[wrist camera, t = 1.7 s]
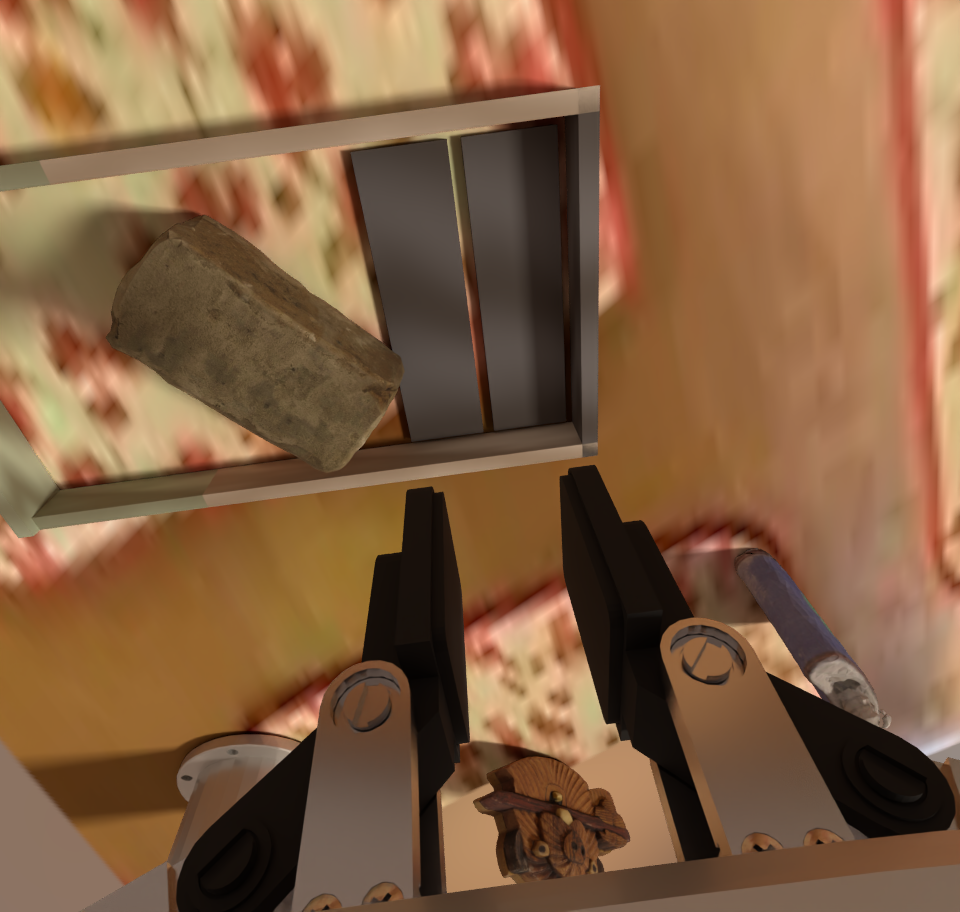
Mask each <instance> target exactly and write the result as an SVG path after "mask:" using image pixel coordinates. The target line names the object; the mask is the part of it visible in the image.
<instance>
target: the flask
mask: <svg viewBox="0 0 960 912" xmlns="http://www.w3.org/2000/svg"><path fill="white" fill-rule="evenodd" d="M748 552H750V553H755V554H745V553H748ZM745 553H744V554H742V556H739V557H736V559H735V568H736V571H737V574H738V575H739V577H740V578H741V579H742V580H743V581H744V583H745V584H746V586H747V587H748V589H749V591H750V592H751V593H752V595H753V596H754V598H755V599H756V601H757V603H758V604H759V606H760V607H761V609H762V610H763V611H764V613H765V614H766V616H767V617H768V619H769V621H770V622H771V623H772V625H773V626H774V628H775V629H776V631H777V633H778V634H779V636H780V637H781V639H782V640H783V642H784V643H785V645H786V647H787V648H788V650H789V651H790V653H791V654H792V656H793V658H794V660H795V661H796V662H797V663H798V665H799V667H800V669H801V671H802V672H803V674H804V676H805V677H806V678H807V679H808V681H809V682H811V683H812V684H813V686H814V687H815V689H816V690H817V692H818V694H819V695H820V697H821V698H822V699H823V700H825V701H827V702H829V703H831V704H833V705H835V706H837V707H839V708H841V709H843V710H845V711H847V712H849V713H851V714H853V715H855V716H858V717H860V718H862V719H864V720H866V721H868V722H870V723H872V724H874V725H876V726H879V723H880V722H879V720H880V715H879V706H878V702H877V697H876V693H875V692H874V689H873V687H872V686H871V684H870V683H869V681H868V679H867V678H866V676H865V674H864V673H863V672H862V670H861V669H860V668H859V667H858V665H857V664H856V663H855V662H854V661H853V659H852V658H851V657H850V656H849V655H848V653H847V652H846V650H845V649H844V647H843V646H842V645H841V643H840V642H839V641H838V640H837V639H836V638H835V636H834V635H833V634H832V632H831V631H830V629H829V628H828V627H827V625H826V624H825V623H824V621H823V620H822V619H821V617H820V616H819V615H818V614H817V612H816V611H815V609H814V608H813V607H812V606H811V604H810V603H809V602H808V600H807V599H806V598H805V596H804V594H803V593H802V592H801V591H800V590H799V588H798V587H797V586H796V584H795V583H794V581H793V580H792V579H791V578H790V576H789V575H788V574H787V572H786V571H785V570H784V569H783V568H782V567H781V566H780V565H779V564H778V562H777V561H776V560H775V559H774V558H772V556H771V555H770V554H768V553H766V552H765V551H763V550H759V549H758V548H756V549H750V550H747V551H746V552H745ZM880 713H882V714H883V715H884V714H885V711H884V710H882V709H881V710H880ZM882 719H883V722H884V724H883V726H882V728H888V727H889V726H890V723H891V717H890V715H888V714H886V715H885V716H884V717H883V718H882Z"/></svg>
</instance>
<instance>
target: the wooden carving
mask: <svg viewBox="0 0 960 912" xmlns="http://www.w3.org/2000/svg"><path fill="white" fill-rule="evenodd" d="M487 779H488V781H489V782H490V784H491V785H492V786H493V788H494V792H491V793H490V794H487V795H485V796H483V797H480V798H478V799H476V800H474V801H473V803H474V805H475V808H477V810H478V811H479V812H480V813H482V814H487V815H491V816H493V817H494V819H495V822H496V826H497V829H498V832H499V836H498V840H497V845H496V855H497V861H498V865H499V869H500V871H501V874H502V876H503V877H504V878H507V877H511V878H512V879H513V880H514V881H515V882H516V883H517V884H519V883H527V882H534V881H542V880H549V879H557V878H564V877H572V876H579V875H587V874H594V873H602V872H604V868H603V865H602V863H601V861H600V860H599V858H598V856H603V855H606V854H608V853H610V852H611V851H612V850H614V849H617V848H621V847H624V846H625V845H626V843H627V842H629V841H630V836H629V832H628V830H627V829H626V826H625V824H624V821H623V819H622V817H621V816H620V815H619V814H617V812H616V809H615V806H614V803H613V799H612V797H611V795H610V793H609V792H608V791H606V790H604V789H601V788H596V789H590V790H588V784H587V783H586V782H585V781H584V780H583V778H582V777H581V776H580V775H579V774H578V773H577V772H575V771H574V770H572V769H571V768H570V767H568V766H567V765H565V764H564V763H561V762H559V761H556V760H554V759H550V758H546V757H538V756H535V757H526V758H523V759H520V760H517V761H515V762H513V763H511V764H509V765H507V766H504V767H501V768H499V769H496V770H494V771H492V772H490V773H488V774H487Z"/></svg>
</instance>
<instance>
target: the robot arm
mask: <svg viewBox="0 0 960 912" xmlns="http://www.w3.org/2000/svg"><path fill="white" fill-rule="evenodd" d="M560 503H561V528H562V552H563V571H564V578H565V582H566V586H567V590H568V593H569V597H570V600H571V604H572V607H573V611H574V615H575V618H576V622H577V625H578V629H579V632H580V636H581V639H582V643H583V647H584V650H585V654H586V657H587V661H588V664H589V668H590V671H591V675H592V679H593V682H594V686H595V689H596V693H597V696H598V700H599V703H600V707H601V710H602V714H603V717H604V720H605V723H606V724H612V723H616V727H617V730H618V733H619V737H620V740H621V741H625V740H631V743H632V747H633V748H635V749H636V750H638V751H639V752H641V753H642V754H644V755H645V756H647V757H648V758H650V765H651V769H652V773H653V776H654V780H655V783H656V787H657V790H658V794H659V797H660V801H661V805H662V808H663V812H664V815H665V819H666V823H667V826H668V829H669V833H670V836H671V840H672V844H673V847H674V851H675V854H676V858H677V863H671V864H662V865H655V866H647V867H640V868H632V869H624V870H617V871H609V872H602V873H594V874H587V875H579V876H572V877H564V878H557V879H549V880H542V881H534V882H527V883H519V884H513V885H504V886H497V887H490V888H483V889H475V890H468V891H461V892H453V893H447V891H446V875H445V856H444V840H443V822H442V804H441V791H440V788H441V787H442V786H443V784H444V783H445V782H446V781H447V780H448V778H449V777H450V776H451V775H452V774H453V772H454V771H455V764H454V763H460V745H459V744H462V743H469V742H470V733H469V715H468V697H467V679H466V661H465V643H464V625H463V607H462V592H461V584H460V578H459V573H458V567H457V562H456V556H455V551H454V546H453V540H452V535H451V529H450V524H449V519H448V513H447V508H446V503H445V497H444V493H443V492H438V493H434V489H433V487H425V488H417V489H410V490H407V493H406V504H405V517H404V530H403V543H402V552H399V553H392V554H384V555H378V556H377V558H376V562H375V568H374V575H373V582H372V590H371V597H370V604H369V611H368V619H367V626H366V633H365V641H364V648H363V655H362V662H361V663H359V664H356V665H354V666H352V667H350V668H349V669H347V670H345V671H344V672H342V673H341V674H340V675H339V676H338V677H337V678H336V679H335V680H334V681H333V682H332V683H331V684H330V686H329V687H328V689H327V691H326V692H325V694H324V696H323V699H322V703H321V706H320V712H319V719H318V726H317V728H316V729H315V730H314V731H313V732H312V733H311V734H310V735H309V736H307V737H306V738H305V739H304V740H303V741H302V742H301V743H299V742H296V741H294V740H291V739H287V738H282V737H278V736H272V735H263V734H241V735H231V736H226V737H221V738H217V739H214V740H211V741H209V742H206V743H203V744H202V745H200V746H198V747H197V748H195V749H193V750H192V751H191V752H190V753H189V754H188V755H187V756H186V757H185V758H184V760H183V762H182V764H181V766H180V769H179V772H178V774H177V786H178V789H179V791H180V793H181V794H182V796H183V797H184V798H185V799H186V800H187V801H188V805H187V808H186V811H185V813H184V816H183V819H182V821H181V824H180V827H179V830H178V832H177V835H176V838H175V841H174V843H173V846H172V849H171V852H170V854H169V857H168V860H167V861H166V862H165V863H163V864H161V865H159V866H158V867H156V868H154V869H153V870H151V871H149V872H147V873H146V874H144V875H142V876H140V877H139V878H137V879H135V880H134V881H132V882H130V883H128V884H127V885H125V886H123V887H121V888H120V889H118V890H116V891H115V892H113V893H111V894H109V895H108V896H106V897H104V898H102V899H101V900H99V901H97V902H96V903H94V904H92V905H90V906H89V907H87V908H85V909H83V910H82V911H80V912H960V760H956V759H953V758H949V757H948V758H947V759H946V761H945V762H944V763H940V762H936V761H932V760H930V759H929V758H928V757H927V756H926V755H925V754H924V753H922V752H921V751H920V750H919V749H918V748H917V747H915V746H913V745H912V744H910V743H908V742H907V741H905V740H903V739H902V738H900V737H898V736H896V735H894V734H892V733H890V732H888V731H886V730H884V729H882V728H880V727H878V726H876V725H874V724H872V723H870V722H868V721H866V720H864V719H862V718H860V717H858V716H855V715H853V714H851V713H849V712H847V711H845V710H843V709H841V708H839V707H837V706H835V705H833V704H831V703H829V702H827V701H825V700H823V699H821V698H819V697H817V696H814V695H812V694H810V693H808V692H806V691H804V690H802V689H800V688H798V687H796V686H794V685H792V684H790V683H788V682H786V681H784V680H782V679H780V678H778V677H776V676H773V675H771V674H769V673H767V672H765V670H764V668H763V666H762V664H761V662H760V660H759V659H758V657H757V655H756V653H755V651H754V649H753V648H752V647H751V645H750V644H749V643H748V641H747V640H746V638H744V637H743V636H742V635H741V634H740V633H738V632H737V631H736V630H735V629H733V628H731V627H729V626H727V625H725V624H723V623H721V622H719V621H715V620H711V619H707V618H694V616H693V614H692V613H691V611H690V609H689V607H688V605H687V603H686V601H685V599H684V597H683V595H682V593H681V591H680V590H679V588H678V586H677V584H676V582H675V580H674V578H673V576H672V574H671V572H670V570H669V568H668V566H667V565H666V563H665V561H664V559H663V557H662V555H661V553H660V551H659V549H658V547H657V545H656V543H655V542H654V540H653V538H652V536H651V534H650V532H649V530H648V528H647V526H646V525H645V523H644V522H643V521H641V520H639V521H631V522H624V523H622V521H621V519H620V517H619V514H618V512H617V510H616V508H615V506H614V504H613V501H612V499H611V497H610V495H609V493H608V491H607V489H606V486H605V484H604V482H603V480H602V478H601V476H600V474H599V471H598V469H597V467H596V466H595V465H590V466H582V467H575V468H569V470H568V475H565V476H560Z"/></svg>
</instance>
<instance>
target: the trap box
mask: <svg viewBox="0 0 960 912" xmlns="http://www.w3.org/2000/svg"><path fill="white" fill-rule="evenodd" d="M560 116H565V143H566V186H567V229H568V272H569V314H570V357H571V400H572V422H565V421H566V395H565V362H564V329H563V295H562V262H561V229H560V195H559V162H558V128H557V124H555V125H548V126H540V127H533V128H525V129H518V130H510V131H503V132H495V133H488V134H480V135H473V136H465V137H461V144H462V153H463V162H464V171H465V179H466V188H467V197H468V206H469V215H470V223H471V232H472V241H473V250H474V259H475V267H476V276H477V285H478V294H479V302H480V311H481V320H482V329H483V338H484V346H485V355H486V364H487V373H488V381H489V390H490V399H491V408H492V417H493V425H494V431H497V430H505V429H512V428H520V427H527V426H535V425H542V424H550V423H557V422H565V423H558V424H550V425H543V426H535V427H528V428H520V429H513V430H506V431H498V432H491V433H483V434H476V435H468V436H461V437H453V438H446V439H438V440H431V441H423V442H416V443H408V444H401V445H393V446H386V447H378V448H371V449H363V450H358V451H357V452H355V453H354V455H353V456H352V458H351V460H350V461H349V462H348V463H347V464H346V465H345V466H344V467H343V468H341V469H340V470H337V471H334V472H328V473H325V472H321V471H319V470H317V469H315V468H313V467H312V466H310V465H309V464H307V463H306V462H304V461H303V460H301V459H299V458H296V459H289V460H281V461H274V462H266V463H259V464H251V465H244V466H236V467H229V468H221V469H214V470H206V471H199V472H191V473H184V474H176V475H169V476H162V477H154V478H147V479H139V480H132V481H124V482H117V483H109V484H102V485H94V486H87V487H79V488H72V489H64V490H59V488H58V487H57V485H56V484H55V482H54V481H53V479H52V478H51V476H50V475H49V473H48V471H47V470H46V468H45V467H44V465H43V464H42V462H41V461H40V459H39V458H38V456H37V455H36V453H35V452H34V450H33V449H32V447H31V446H30V444H29V443H28V441H27V440H26V438H25V437H24V435H23V434H22V432H21V431H20V429H19V428H18V426H17V425H16V423H15V422H14V420H13V419H12V417H11V416H10V414H9V413H8V411H7V410H6V408H5V407H4V405H3V404H2V402H1V401H0V514H1V515H2V517H3V518H4V519H5V521H6V522H7V523H8V525H9V526H10V527H11V529H12V530H13V531H14V533H15V534H16V535H17V537H18V538H22V537H30V536H34V535H35V534H36V533H37V532H38V531H39V530H42V529H49V528H57V527H64V526H72V525H79V524H87V523H94V522H102V521H109V520H117V519H124V518H132V517H139V516H147V515H154V514H162V513H169V512H177V511H184V510H191V509H199V508H206V507H214V506H221V505H229V504H236V503H244V502H251V501H259V500H266V499H274V498H281V497H289V496H296V495H304V494H311V493H319V492H326V491H334V490H341V489H349V488H356V487H364V486H371V485H379V484H386V483H393V482H401V481H408V480H416V479H423V478H431V477H438V476H446V475H453V474H461V473H468V472H476V471H483V470H491V469H498V468H506V467H513V466H521V465H528V464H536V463H543V462H551V461H558V460H566V459H573V458H580V457H588V456H595V455H597V454H598V288H599V123H600V85H599V86H591V87H584V88H577V89H569V90H562V91H554V92H547V93H539V94H532V95H524V96H517V97H509V98H502V99H495V100H487V101H480V102H472V103H465V104H457V105H450V106H442V107H435V108H427V109H420V110H413V111H405V112H398V113H390V114H383V115H375V116H368V117H360V118H353V119H345V120H338V121H331V122H323V123H316V124H308V125H301V126H293V127H286V128H278V129H271V130H263V131H256V132H249V133H241V134H234V135H226V136H219V137H211V138H204V139H196V140H189V141H181V142H174V143H167V144H159V145H152V146H144V147H137V148H129V149H122V150H114V151H107V152H99V153H92V154H85V155H77V156H70V157H62V158H55V159H47V160H40V161H32V162H25V163H17V164H10V165H3V166H0V191H8V190H15V189H23V188H30V187H38V186H45V185H53V184H60V183H68V182H75V181H82V180H90V179H97V178H105V177H112V176H120V175H127V174H135V173H142V172H150V171H157V170H164V169H172V168H179V167H187V166H194V165H202V164H209V163H217V162H224V161H232V160H239V159H246V158H254V157H261V156H269V155H276V154H284V153H291V152H299V151H306V150H314V149H321V148H328V147H336V146H343V145H351V144H358V143H366V142H373V141H381V140H388V139H396V138H403V137H411V136H418V135H425V134H433V133H440V132H448V131H455V130H463V129H470V128H478V127H485V126H493V125H500V124H507V123H515V122H522V121H530V120H537V119H545V118H552V117H560ZM350 153H351V158H352V162H353V167H354V172H355V177H356V181H357V186H358V191H359V196H360V200H361V205H362V210H363V214H364V219H365V224H366V229H367V233H368V238H369V243H370V247H371V252H372V257H373V262H374V266H375V271H376V276H377V280H378V285H379V290H380V295H381V299H382V304H383V309H384V313H385V318H386V323H387V328H388V332H389V337H390V342H391V346H392V351H393V352H394V353H396V354H398V355H399V356H400V357H401V360H402V363H403V367H404V371H405V372H404V374H403V378H402V380H401V382H400V389H401V394H402V398H403V403H404V408H405V412H406V417H407V422H408V427H409V431H410V436H411V441H412V442H415V441H422V440H430V439H437V438H445V437H452V436H460V435H467V434H475V433H482V432H484V431H483V424H482V416H481V408H480V400H479V392H478V384H477V376H476V368H475V360H474V352H473V344H472V336H471V328H470V321H469V313H468V305H467V297H466V289H465V281H464V273H463V265H462V257H461V249H460V241H459V233H458V226H457V218H456V210H455V202H454V194H453V186H452V178H451V170H450V162H449V154H448V146H447V139H443V140H436V141H428V142H421V143H413V144H406V145H398V146H391V147H383V148H376V149H369V150H361V151H354V152H350Z"/></svg>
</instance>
